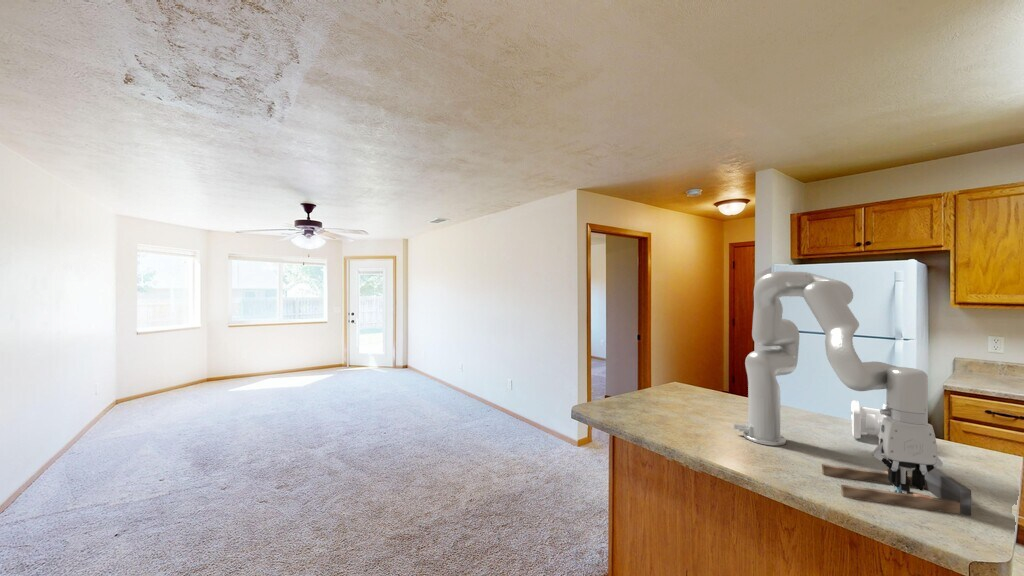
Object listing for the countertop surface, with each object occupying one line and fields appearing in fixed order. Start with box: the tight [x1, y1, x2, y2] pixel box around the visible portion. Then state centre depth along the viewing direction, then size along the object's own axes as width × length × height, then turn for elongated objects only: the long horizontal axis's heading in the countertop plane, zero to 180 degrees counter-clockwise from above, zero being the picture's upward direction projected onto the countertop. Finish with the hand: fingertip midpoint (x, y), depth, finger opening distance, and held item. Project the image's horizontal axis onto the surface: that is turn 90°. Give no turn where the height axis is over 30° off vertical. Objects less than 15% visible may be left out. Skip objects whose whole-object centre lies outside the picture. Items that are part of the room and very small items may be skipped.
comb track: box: [821, 464, 972, 516], centre depth 102 cm, size 24×14×6 cm, turn 70°
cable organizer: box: [850, 399, 886, 440], centre depth 138 cm, size 15×11×12 cm
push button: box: [891, 460, 916, 494], centre depth 101 cm, size 7×5×10 cm
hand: (905, 485), depth 100 cm, fingers open, 3 cm apart
